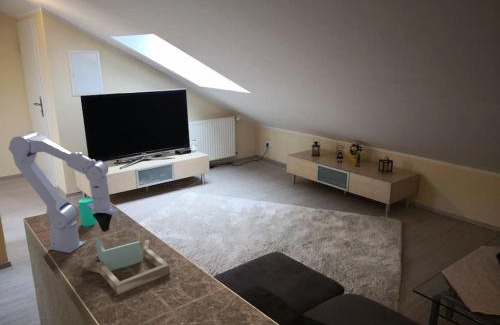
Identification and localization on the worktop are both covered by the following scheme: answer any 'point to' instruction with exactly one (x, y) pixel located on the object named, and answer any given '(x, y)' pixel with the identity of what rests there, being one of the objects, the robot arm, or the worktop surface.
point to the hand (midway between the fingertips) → (105, 230)
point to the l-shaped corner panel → (119, 255)
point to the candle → (86, 212)
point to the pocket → (136, 280)
